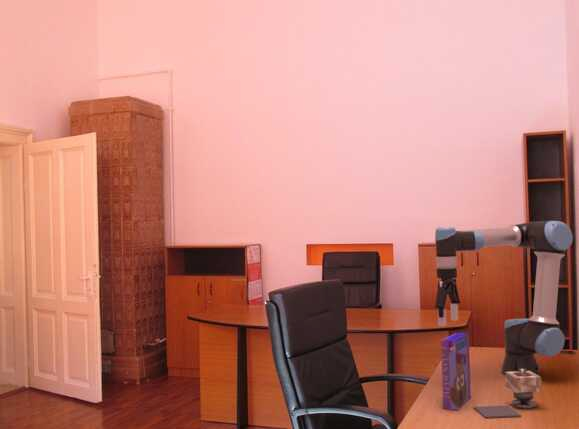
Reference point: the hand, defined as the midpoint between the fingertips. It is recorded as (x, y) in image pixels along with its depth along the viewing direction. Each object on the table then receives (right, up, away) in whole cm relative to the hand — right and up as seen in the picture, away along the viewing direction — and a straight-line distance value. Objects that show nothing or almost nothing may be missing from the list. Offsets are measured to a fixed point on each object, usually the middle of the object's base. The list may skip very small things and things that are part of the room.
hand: (448, 323), depth 231 cm
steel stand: (+21, -26, -19) cm, 38 cm away
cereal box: (-1, -27, -14) cm, 30 cm away
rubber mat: (+10, -26, -26) cm, 37 cm away
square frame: (+21, -20, -19) cm, 34 cm away
